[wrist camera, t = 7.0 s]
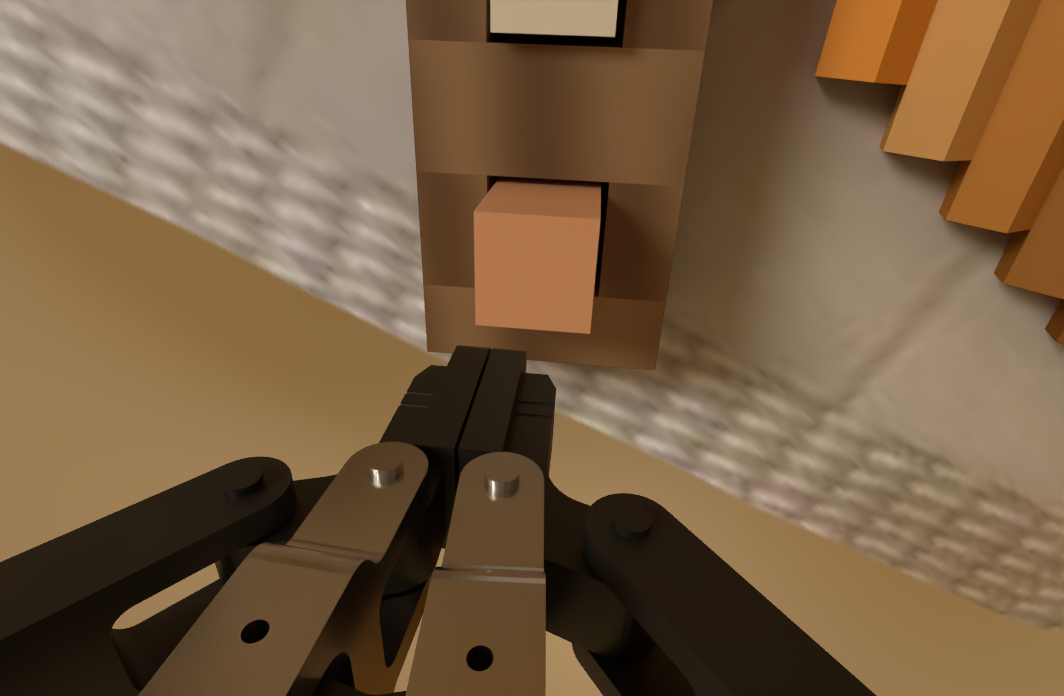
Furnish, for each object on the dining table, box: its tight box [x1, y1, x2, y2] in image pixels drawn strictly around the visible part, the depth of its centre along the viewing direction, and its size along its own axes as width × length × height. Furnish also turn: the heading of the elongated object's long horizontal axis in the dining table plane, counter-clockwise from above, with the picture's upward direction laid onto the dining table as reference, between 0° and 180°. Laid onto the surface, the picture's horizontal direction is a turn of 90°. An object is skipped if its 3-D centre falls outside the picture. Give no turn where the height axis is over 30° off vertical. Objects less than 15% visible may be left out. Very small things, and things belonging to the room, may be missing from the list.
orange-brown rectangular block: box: [474, 176, 601, 334], centre depth 21 cm, size 4×4×6 cm
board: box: [406, 0, 713, 370], centre depth 23 cm, size 10×20×6 cm, turn 178°
